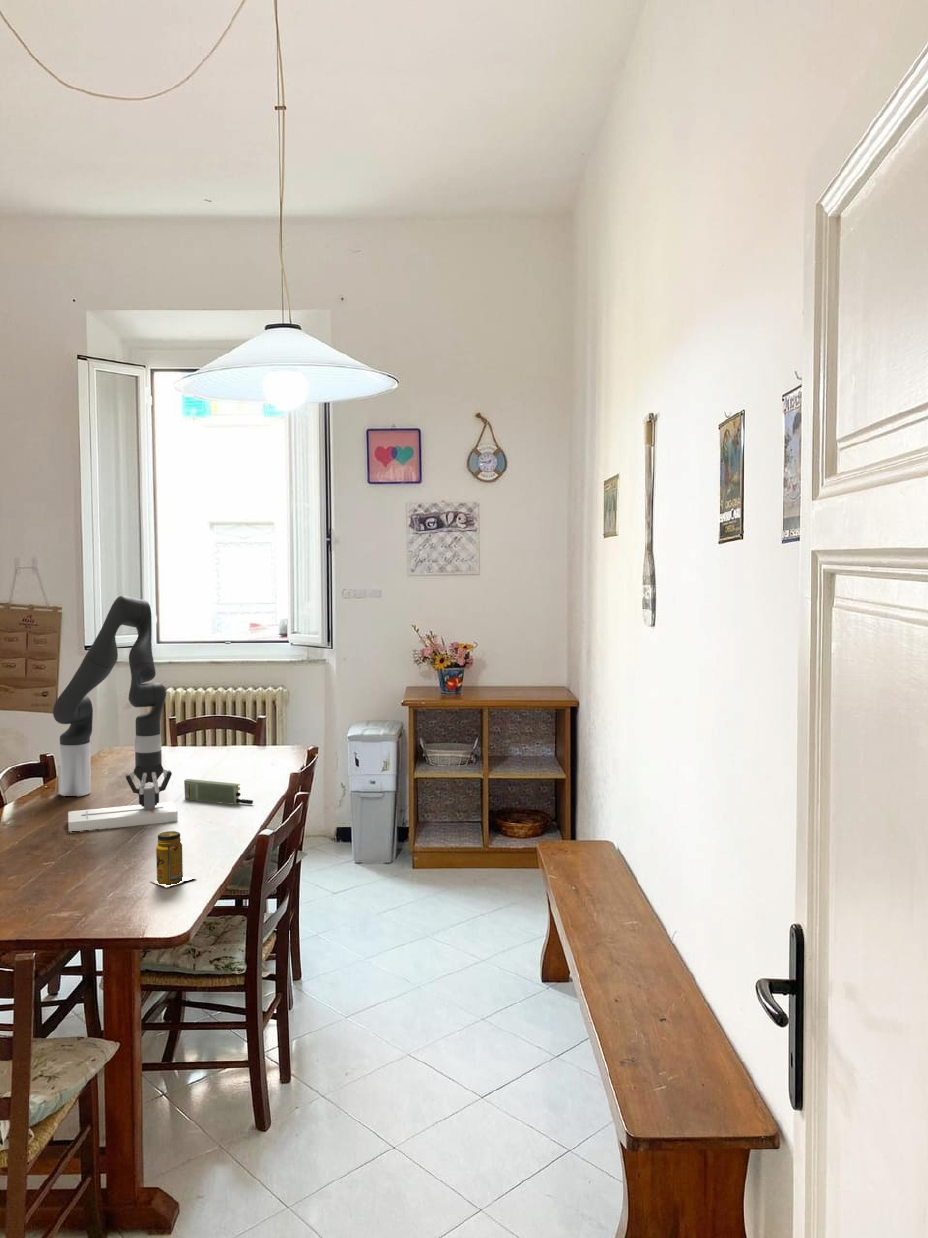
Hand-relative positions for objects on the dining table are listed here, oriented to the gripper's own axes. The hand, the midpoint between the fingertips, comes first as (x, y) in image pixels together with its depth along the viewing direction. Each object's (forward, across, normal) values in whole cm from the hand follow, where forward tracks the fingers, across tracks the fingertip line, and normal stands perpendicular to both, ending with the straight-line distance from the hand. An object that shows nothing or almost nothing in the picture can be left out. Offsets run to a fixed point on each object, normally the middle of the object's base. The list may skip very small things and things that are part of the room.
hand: (149, 805), depth 273 cm
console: (+4, -7, 0) cm, 8 cm away
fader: (+1, 0, 0) cm, 1 cm away
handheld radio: (+5, +22, +12) cm, 26 cm away
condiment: (+4, +1, -58) cm, 58 cm away
